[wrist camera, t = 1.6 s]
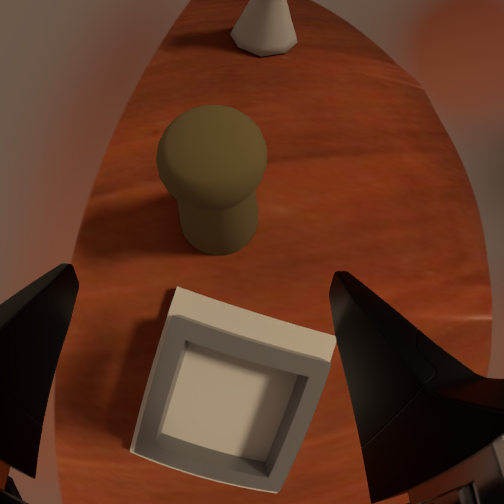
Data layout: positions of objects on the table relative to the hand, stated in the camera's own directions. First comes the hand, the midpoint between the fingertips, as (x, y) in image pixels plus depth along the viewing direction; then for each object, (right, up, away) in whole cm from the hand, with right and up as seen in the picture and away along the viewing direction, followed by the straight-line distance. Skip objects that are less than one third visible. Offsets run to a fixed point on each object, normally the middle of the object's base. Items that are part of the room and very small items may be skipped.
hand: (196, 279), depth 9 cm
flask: (+3, +25, +18) cm, 31 cm away
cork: (-1, +3, +13) cm, 14 cm away
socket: (0, -10, +10) cm, 15 cm away
